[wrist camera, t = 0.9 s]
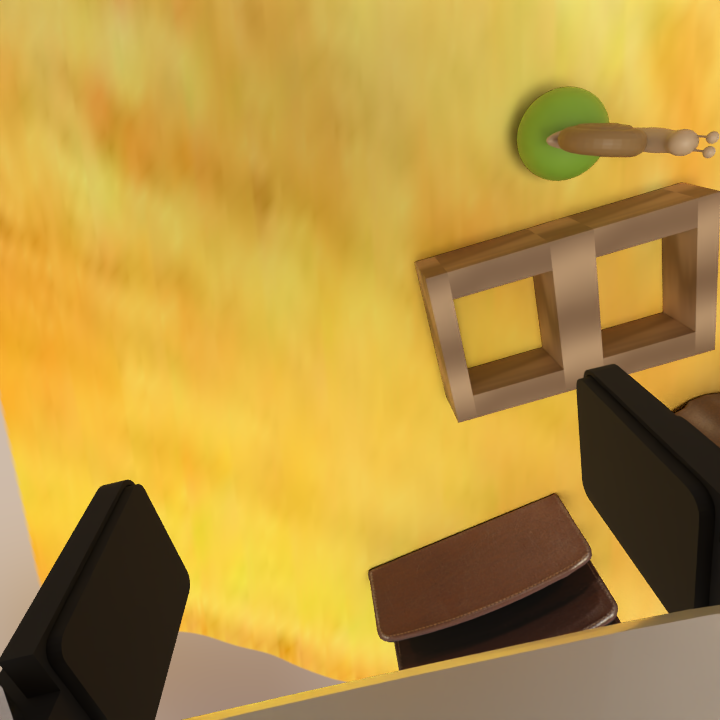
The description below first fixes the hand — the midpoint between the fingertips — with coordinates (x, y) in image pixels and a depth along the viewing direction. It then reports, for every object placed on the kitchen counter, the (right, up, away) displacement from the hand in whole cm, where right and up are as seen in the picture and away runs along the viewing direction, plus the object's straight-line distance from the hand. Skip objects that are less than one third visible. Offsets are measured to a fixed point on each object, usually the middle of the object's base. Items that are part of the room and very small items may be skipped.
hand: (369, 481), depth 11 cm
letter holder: (+12, -18, +43) cm, 48 cm away
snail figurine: (+13, +18, +25) cm, 33 cm away
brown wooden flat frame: (+15, +7, +30) cm, 34 cm away
